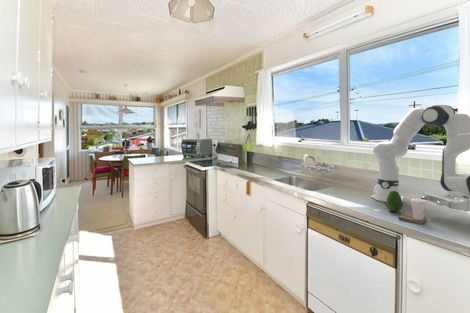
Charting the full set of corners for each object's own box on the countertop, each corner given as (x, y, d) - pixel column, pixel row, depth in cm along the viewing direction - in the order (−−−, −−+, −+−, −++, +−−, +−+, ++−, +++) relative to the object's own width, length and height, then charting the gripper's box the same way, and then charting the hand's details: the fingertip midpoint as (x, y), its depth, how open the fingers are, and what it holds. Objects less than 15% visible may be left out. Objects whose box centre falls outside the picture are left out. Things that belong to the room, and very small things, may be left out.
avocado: (388, 208, 149) (389, 188, 148) (403, 211, 143) (405, 191, 142) (383, 211, 143) (385, 190, 142) (399, 214, 138) (401, 193, 137)
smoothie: (410, 215, 132) (411, 189, 131) (425, 218, 128) (427, 191, 126) (409, 219, 127) (410, 192, 126) (425, 221, 123) (426, 193, 122)
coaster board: (403, 215, 137) (403, 212, 137) (425, 220, 130) (426, 217, 130) (398, 219, 130) (398, 216, 130) (422, 225, 123) (422, 222, 123)
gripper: (436, 189, 141) (414, 190, 140) (474, 199, 121) (448, 200, 120) (435, 200, 142) (413, 201, 140) (473, 212, 122) (447, 213, 120)
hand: (429, 200), depth 130 cm, fingers open, 8 cm apart
